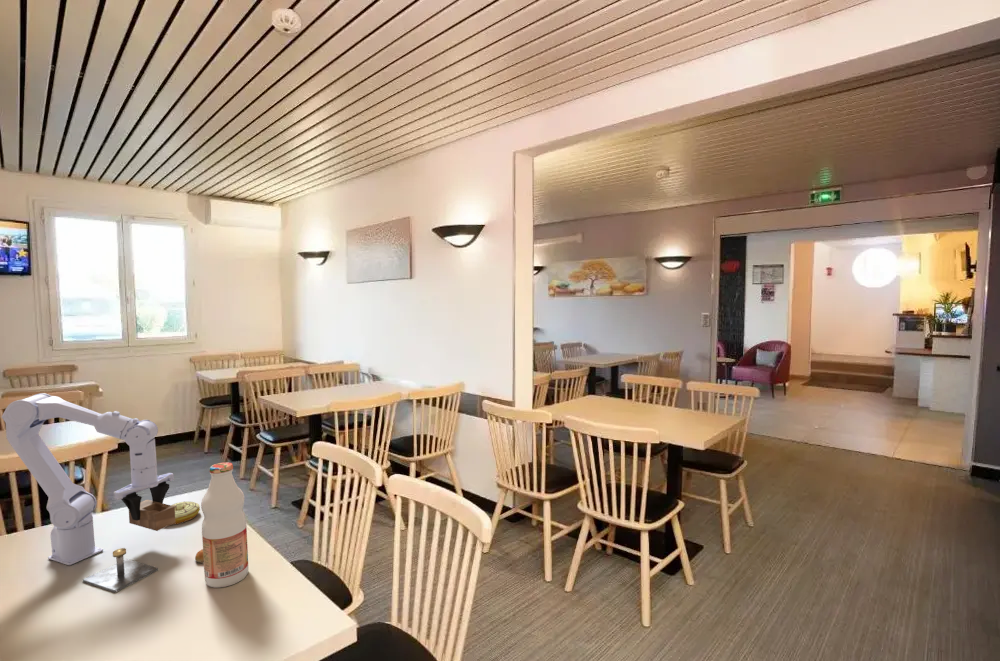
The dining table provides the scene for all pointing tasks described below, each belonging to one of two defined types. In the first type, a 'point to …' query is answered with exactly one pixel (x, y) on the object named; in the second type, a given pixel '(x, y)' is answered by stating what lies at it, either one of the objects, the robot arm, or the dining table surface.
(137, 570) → the hook plate
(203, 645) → the dining table surface
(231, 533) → the fruit juice
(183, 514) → the decorated donut
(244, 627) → the dining table surface
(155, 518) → the block
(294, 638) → the dining table surface
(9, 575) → the dining table surface
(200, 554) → the pastry
